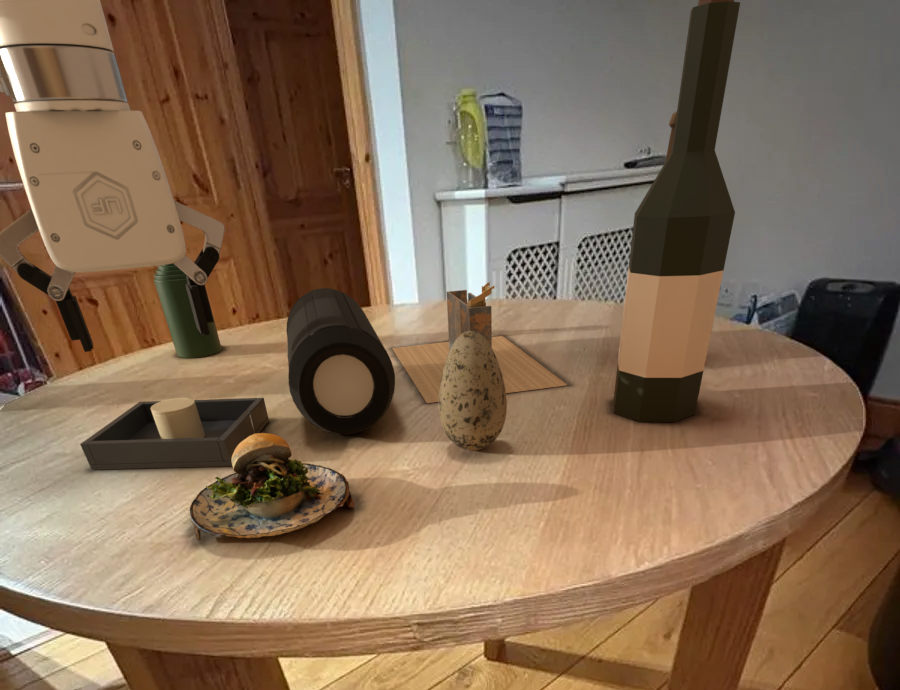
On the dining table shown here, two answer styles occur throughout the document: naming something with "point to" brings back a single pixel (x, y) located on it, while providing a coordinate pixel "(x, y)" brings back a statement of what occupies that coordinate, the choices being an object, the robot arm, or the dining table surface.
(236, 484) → the burger
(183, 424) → the cap
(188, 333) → the bottle
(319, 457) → the dining table surface
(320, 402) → the portable speaker
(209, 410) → the tray
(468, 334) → the decorative egg
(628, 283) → the wine bottle
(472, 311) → the architectural model on board
